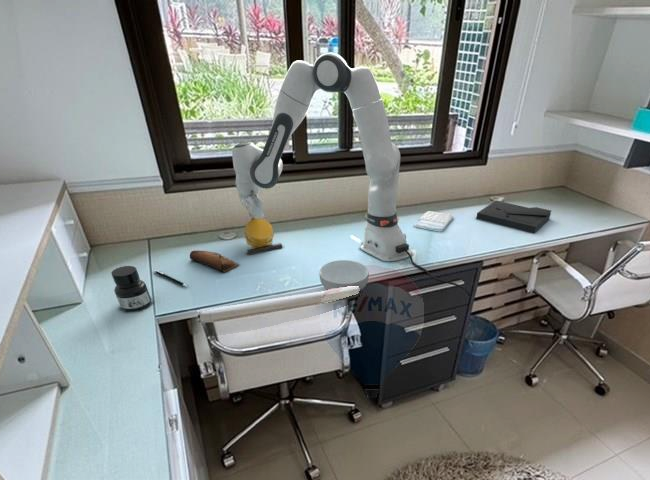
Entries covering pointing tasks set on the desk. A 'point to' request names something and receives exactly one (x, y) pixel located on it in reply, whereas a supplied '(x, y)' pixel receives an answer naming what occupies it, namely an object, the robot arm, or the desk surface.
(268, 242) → the glazed bowl
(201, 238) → the desk surface
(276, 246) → the strip
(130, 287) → the ink bottle
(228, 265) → the sunglasses case
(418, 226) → the white folded towel
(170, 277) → the pen
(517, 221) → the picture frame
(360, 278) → the cereal bowl
